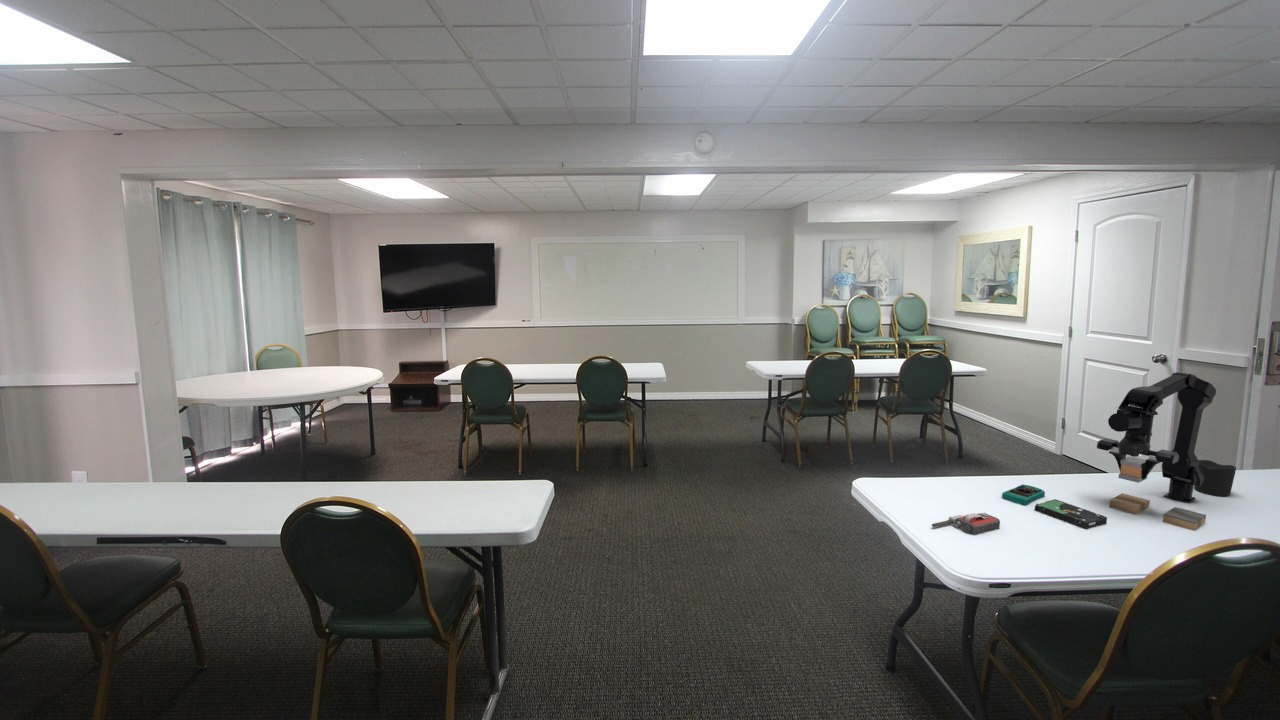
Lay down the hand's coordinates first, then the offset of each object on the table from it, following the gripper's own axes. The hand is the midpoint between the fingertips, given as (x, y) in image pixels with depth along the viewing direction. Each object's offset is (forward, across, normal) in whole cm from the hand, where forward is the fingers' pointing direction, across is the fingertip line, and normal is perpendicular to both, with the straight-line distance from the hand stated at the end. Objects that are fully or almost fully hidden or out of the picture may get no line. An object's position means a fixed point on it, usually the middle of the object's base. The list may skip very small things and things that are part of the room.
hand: (1132, 476), depth 177 cm
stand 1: (+10, 0, 0) cm, 10 cm away
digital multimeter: (+11, -22, -20) cm, 32 cm away
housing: (+1, 0, 0) cm, 1 cm away
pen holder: (+10, +10, +41) cm, 44 cm away
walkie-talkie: (+11, -19, -60) cm, 64 cm away
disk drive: (+11, -7, -25) cm, 28 cm away
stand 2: (+10, +13, 0) cm, 17 cm away
